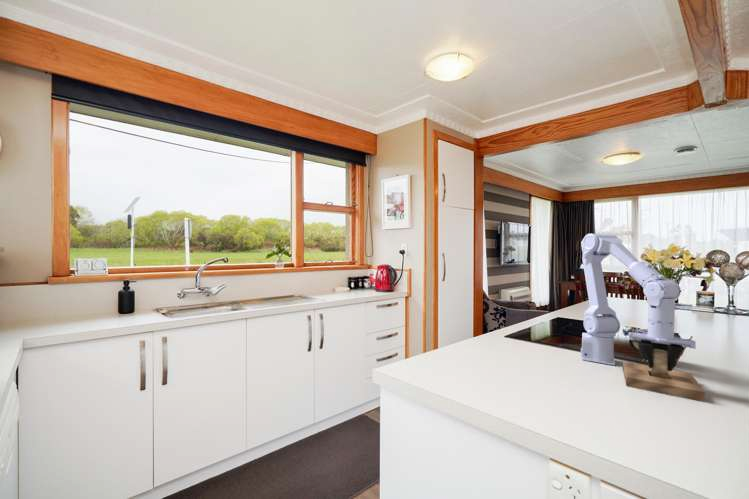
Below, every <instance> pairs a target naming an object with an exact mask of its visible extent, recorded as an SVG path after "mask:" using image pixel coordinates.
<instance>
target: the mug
mask: <svg viewBox="0 0 749 499" xmlns="http://www.w3.org/2000/svg"><path fill="white" fill-rule="evenodd" d="M637 333H645V334H648V328H647V329H646V328H640V329H638V330H637ZM654 341H655V340H654ZM637 342H638V343H637V344H638V348H637V347H636V346H635V345H634V344H633V340H629V339H628V343H629V345H630V347H631V348H632V349H633V350H634V351H636V352H638V353H639V356H640V358H641V360H643V359H645V360H647V356H646V353H645V350H644V348H643V346H642V344H641V342H640V341H639V340H637ZM651 343H652V346H653V348H652V349H660V350H665V351H667V352H668V344H661V343H653V342H651ZM669 343H670V342H669Z"/></svg>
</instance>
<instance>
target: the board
mask: <svg viewBox="0 0 749 499" xmlns="http://www.w3.org/2000/svg"><path fill="white" fill-rule="evenodd" d="M651 369H652V368H649V366H648V365H644V364H639V363H633V362H627V361H623V362H622V371H623V375H624V376H623V377H624V381H625V386H626V387H629V388H630V387H631V388H633V389H634V388H635V389H640V390H644V389H645V391H649V390H650V391H649V392H654V391H655V393H659V392H660V393H659V394H664V393H665V395H668V394H670V395H669V396H673V395H674V396H675V397H678V398H679V397H680V398H682V399H683V398H685V399H689V400H693V401H700V402H703V403H705V402H706V392H705V390H704V389H703V387H702V386H701V384H700V383H699V382H698V380H696V378H695V376H694V375H693V374H692V373H691V372H686V371H680V370H673V369H672V371H668V379H665V378H659V377H654V376H651Z"/></svg>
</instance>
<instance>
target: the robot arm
mask: <svg viewBox="0 0 749 499" xmlns="http://www.w3.org/2000/svg"><path fill="white" fill-rule="evenodd" d="M580 245H581V251H582V256H581V257H582V260H581V261H582V266H583V272H584V277H585V285H586V290H587V296H588V298H587V299H588V303H589V307H588V308H587V309H586V310H585V311H584V312H583V317H584V318H583V328H584V330H585V331H586V332H582V334H581V336H582V337H581V348H580V354H581V360H583V361H588V362H594V363H599V364H605V365H610V366H616V361H615V357H614V351H615V350H614V345H615V337H616V334H617V333H618V332H620V330H621V323H620V319H618V317H617V313H616V311H615V310H614V309H613V308H611V307H610V306H609V302H608V301H609V300H608V295H607V288H606V285H605V278H604V272H603V268H602V261H603V260H604V259H606V258H608V257H609V256H610V255H612V256H613V257H614V258H616V260H618V261H619V262H621V263H622V264H623V265H624V266H626V268H628V275H629V276H630V277H631V278H632V279H634V280H635V281H636V282H637V283H638V284H639V285H640V286H641V287H642V289H643V290H642V291H643V294H644V296H645V297H646V303H647V306H648V312H647V313H648V315H647V329H648V334H645V333H638V332H633V331H632V332H631V331H628V341H629V340H632V341H638V340H639V341H640V342H641V344H642V346H643V348H644V350H645V353H646V356H647V360H648V362H647V366H649V368H652V348H653V346H652V343H651V342H653V343H661V344H668V371H672V370H673V367H674V364H675V362H676V360H677V359H678V357H679V356H680V354H681V353H682V352H683V348H682V347H684V348H689V349H693V350H694V349H695V350H696V346H697V345H696V343H697V342H696V341H695V340H693V339H688V338H687V339H686V338H681V337H675V312H676V310H675V308H676V305H675V304H676V302H675V301H676V300H677V299H678V298H679V297H680V295H681V291H682V290H681V287H680V285H679V284H678V282H677V281H676V280H674V279H668V278H666V277H665V275H664V274H661V273H659V271H657V270H656V269H655V268H654V267H653V264H652V263H651V262H646V261H642V260H641V261H640V260H639V259H637V257H636V256H635V255H634V254H633V253H632V252H631V251H630V250H629V249H628V248H627V247H626V246H625V245H624V244H623V242H622V239H621V238H619V237H618V236H617V235H615V234H613V233H610V234H607V233H606V234H605V233H604V234H603V233H602V234H600V233H587V234H586V235H585V236H584V237H583V239H582V241H581V242H580ZM654 340H655V341H654ZM669 342H670V343H669Z"/></svg>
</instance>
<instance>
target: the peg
mask: <svg viewBox="0 0 749 499" xmlns="http://www.w3.org/2000/svg"><path fill="white" fill-rule="evenodd" d="M651 376H654V377H659V378H665V379H668V352H667V351H665V350H660V349H652V369H651Z"/></svg>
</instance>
